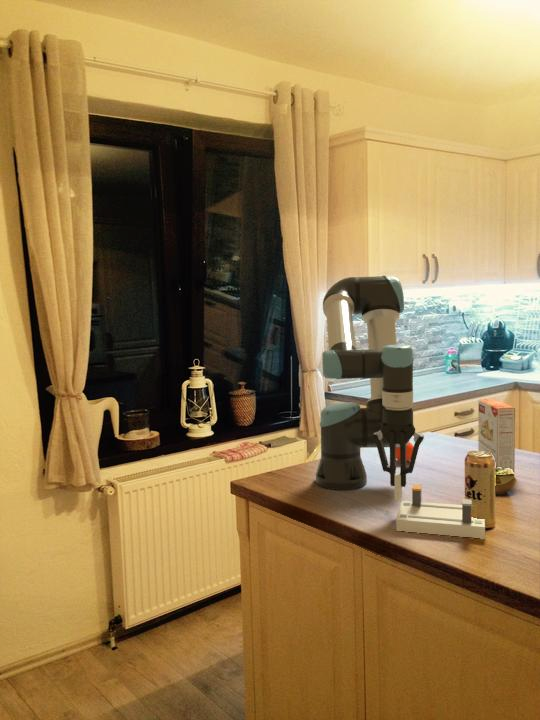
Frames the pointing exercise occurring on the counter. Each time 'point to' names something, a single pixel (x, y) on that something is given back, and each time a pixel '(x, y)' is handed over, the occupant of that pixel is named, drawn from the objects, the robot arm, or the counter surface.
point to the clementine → (408, 452)
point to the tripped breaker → (416, 495)
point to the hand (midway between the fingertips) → (398, 498)
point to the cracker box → (497, 431)
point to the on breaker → (466, 510)
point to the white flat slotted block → (438, 520)
